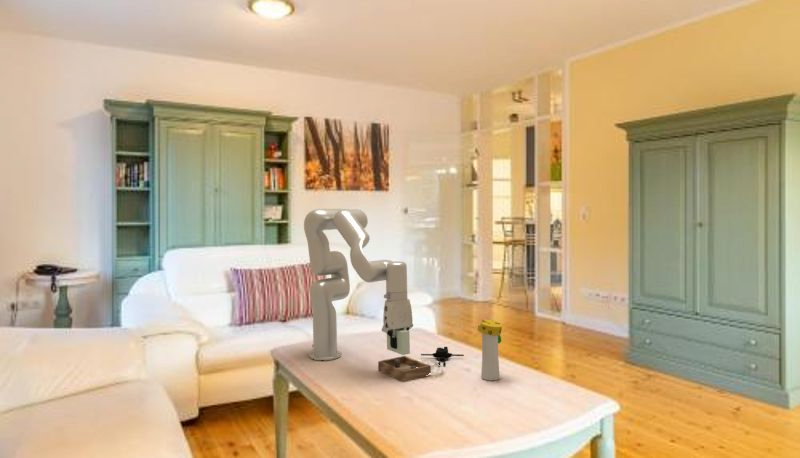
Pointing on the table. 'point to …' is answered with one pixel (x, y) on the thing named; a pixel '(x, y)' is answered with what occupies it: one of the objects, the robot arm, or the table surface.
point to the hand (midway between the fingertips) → (398, 346)
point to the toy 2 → (490, 348)
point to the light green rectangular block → (400, 342)
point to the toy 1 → (442, 354)
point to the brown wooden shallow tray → (404, 368)
